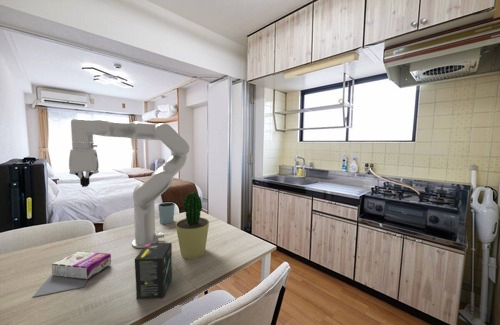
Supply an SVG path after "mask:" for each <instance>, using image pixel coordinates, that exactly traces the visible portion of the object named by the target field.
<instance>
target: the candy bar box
mask: <svg viewBox="0 0 500 325" xmlns="http://www.w3.org/2000/svg"><path fill="white" fill-rule="evenodd" d="M110 265H112V255H111V253H107V252H106V253H105V252H94V251H93V252H92V251H91V252H90V251H79V250H78V251H76V252H74V253H72V254H70V255H68V256H66V257H63V258H61V259H60V260H57V261H55V262H53V263H51V276H52V275H53V276H63V277H72V278H82V279H88V280H89V279H90V278H91V277H93V276H95V275H97V274H98V273H99V272H101V271H102V270H104V269H105V268H107V267H108V266H110Z"/></svg>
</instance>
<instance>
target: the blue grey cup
mask: <svg viewBox="0 0 500 325" xmlns="http://www.w3.org/2000/svg"><path fill="white" fill-rule="evenodd" d="M175 205H176V204H175V203H174V202H169V201H168V202H161V203H159V204H158V205H157V206H158V213H159V214H158V215H159V223H160V224H161V225H169V224H172V223H174V215H175Z"/></svg>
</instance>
